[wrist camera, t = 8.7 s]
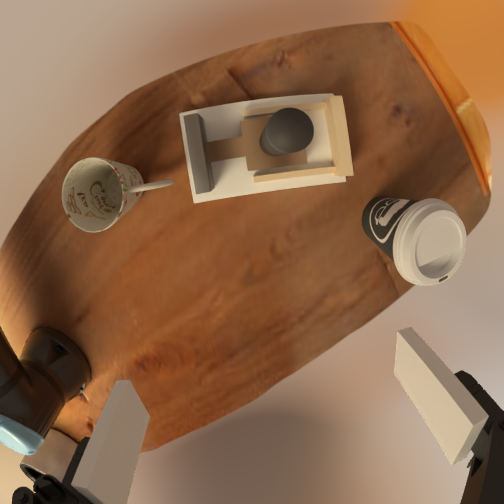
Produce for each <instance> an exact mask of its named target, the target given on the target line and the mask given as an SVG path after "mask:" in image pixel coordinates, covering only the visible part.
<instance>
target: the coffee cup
mask: <svg viewBox="0 0 504 504" xmlns="http://www.w3.org/2000/svg"><path fill="white" fill-rule="evenodd" d="M362 226H363V229H364V231H365V233H366V234H367V235H368V236H369V237H370V238H371V239H372V240H373V241H374V242H375V243H376V244H377V245H378V246H379V247H380V248H381V249H382V250H383V251H384V252H385V253H386V254H387V255H388V256H389V257H390V258H391V259H392V260H393V261H394V262H395V265H396V268H397V270H398V272H399V273H400V275H401V276H402V277H403V278H404V279H405V280H407V281H408V282H410V283H413V284H417V285H435V284H439V283H442V282H444V281H446V280H447V279H449V278H450V277H451V276H452V275H453V274H454V273H455V271H457V269H458V268H459V266H460V264H461V262H462V260H463V258H464V255H465V251H466V245H467V236H466V230H465V227H464V224H463V222H462V221H461V219H460V217H459V215H458V214H457V213H456V211H455V210H454V209H453V208H452V207H451V206H450V205H449V204H448V203H446V202H444V201H442V200H440V199H434V198H430V199H425V200H422V201H415V200H407V199H398V198H390V197H378V198H375V199H373V200H372V201H370V202H369V203H368V204H367V206H366V207H365V209H364V211H363V215H362Z"/></svg>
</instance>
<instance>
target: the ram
mask: <svg viewBox="0 0 504 504" xmlns="http://www.w3.org/2000/svg"><path fill="white" fill-rule="evenodd" d="M183 117H184V124H185V130H186V137H187V143H188V150H189V156H190V162H191V168H192V174H193V179H194V185H195V191H196V194H201V193H207V192H211V191H212V190H213V189H214V188H215V186H214V180H213V174H212V168H211V162H216V161H221V160H227V159H233V158H240V157H246V163H247V169H248V171H254V170H261V169H268V168H275V167H283V166H291V165H299V164H308V162H307V155H306V147H307V146H308V145H309V144H310V143H311V141H312V139H313V136H314V126H313V123H312V121H311V119H310V117H309V116H308V115H307V114H306V113H305V112H303V111H301V110H299V109H297V108H291V107H290V108H283V109H280V110H278V111H277V112H275V113H274V114H273V115H272V117H266V118H258V119H251V120H244V121H240V125H241V131H242V136H240V137H234V138H228V139H222V140H216V141H211V142H207V137H206V130H205V124H204V119H203V118H202V117H201V116H200V115H199V114H198V113H194V114H189V115H185V116H183Z"/></svg>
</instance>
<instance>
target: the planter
mask: <svg viewBox="0 0 504 504" xmlns="http://www.w3.org/2000/svg"><path fill="white" fill-rule="evenodd" d="M77 445H78V444H77V443H76V442H75V441H74V440H72V439H71V438H70V437H68V436H66V435H65V434H63V433H61V432H59V431H57V430H54V429H50V431H49V432H48V434H47V436H46V438H45V442H44V443H42V445H41V446H40V447H39V449H38V450H37V452H36V453H35V454H33V455H25V456H24V458H23V460H22V461H21V463H20V468H21V469H22V471H23V472H24V473H25V475H26V476H28V477H29V478H30V479H31V480H32V481H33V482H35V481H36V479H37V478H38V477H40V476H41V475H45V474H50V475H52V476H54V477H55V478H56V479H57V480H58V481H59V482H62V480H63V478H64V475H65V473H66V471H67V468H68V466H69V464H70V461H72V457H73V454H75V453H74V452H75V450H76V448H77Z"/></svg>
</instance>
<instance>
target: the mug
mask: <svg viewBox="0 0 504 504" xmlns="http://www.w3.org/2000/svg"><path fill="white" fill-rule="evenodd" d="M173 183H174V180H172V179H167V180H163V181H156V182H152V183H147V184H144V183H143V179H142V176H141V174H140V173H139V172H138V171H137V170H136V169H135V168H134V167H132V166H129V165H126V164H122V163H119V162H115V161H112V160H108V159H104V158H100V157H88V158H85V159H82V160H80V161H79V162H77V163H76V164H75V165H74V166H73V167H72V168H71V169H70V170H69V172H68V173H67V175H66V177H65V180H64V183H63V187H62V202H63V206H64V209H65V212H66V214H67V216H68V218H69V219H70V220H71V222H72V223H73V224H74V225H76V226H77V227H78V228H80V229H82V230H84V231H87V232H100V231H103V230H106V229H108V228H109V227H111V226H112V225H113V224H115V223H116V222H117V221H118V220H119V219H120V218H121V217H122V216H123V215H124V214H125V213H126V212H128V211H129V210H130V209H131V208H132V207H133V206H134V205H135V204H136V203H137V202H138V201H139V200H140V198H141V196H142V194H143V191H145V190H150V189H155V188H160V187H164V186H169V185H172V184H173Z"/></svg>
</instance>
